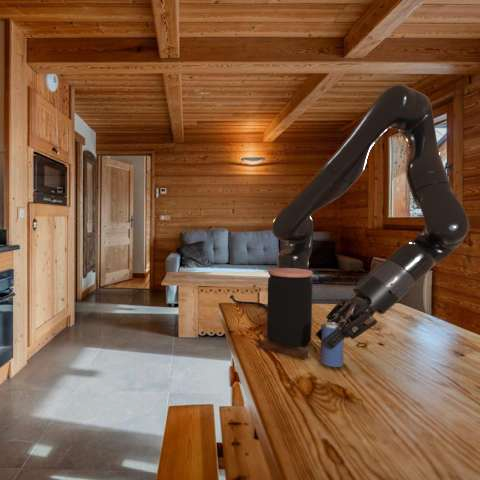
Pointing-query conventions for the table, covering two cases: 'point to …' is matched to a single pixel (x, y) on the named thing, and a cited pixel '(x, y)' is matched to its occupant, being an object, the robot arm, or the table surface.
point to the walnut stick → (283, 349)
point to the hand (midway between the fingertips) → (323, 341)
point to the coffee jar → (289, 306)
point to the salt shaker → (331, 355)
